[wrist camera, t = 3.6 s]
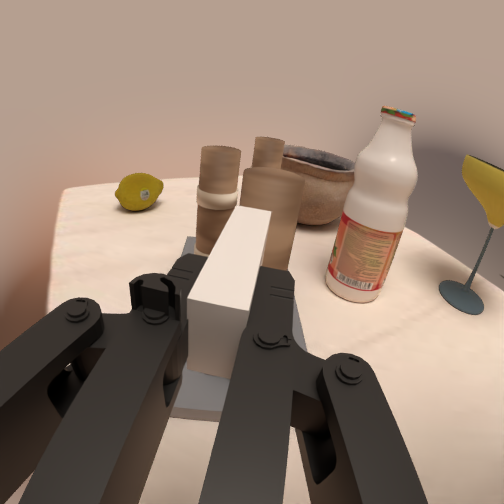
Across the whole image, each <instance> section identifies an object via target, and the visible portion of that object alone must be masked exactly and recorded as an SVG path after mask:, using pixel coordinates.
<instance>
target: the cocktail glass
mask: <svg viewBox="0 0 504 504" xmlns="http://www.w3.org/2000/svg"><path fill="white" fill-rule="evenodd" d="M462 175H463V178H464V180H465V182H466V184H467V186H468V187H469V189H470V190H471V191H472V193H473V194H474V195H475V197H476V198H477V199H478V200H479V202H480V203H481V205H482V206H483V208H484V209H485V211H486V214H487V218H488V223H489V225H490V226H491V229H490V232H489V234H488V237H487V240H486V242H485V245H484V247H483V249H482V252H481V254H480V256H479V259H478V261H477V263H476V265H475V267H474V269H473V271H472V273H471V275H470V277H469V279H468V281H467V282H466V284H465V285H463V284H461V283H458V282H455V281H450V280H446V281H443V282H441V283H440V285H439V290H440V293H441V295H442V296H443V298H444V299H445V300H446V301H447V302H448V303H449V304H451V305H452V306H453V307H455V308H456V309H458V310H460V311H462V312H465V313H467V314H472V315H477V314H480V313H482V312H483V310H484V304H483V302H482V300H481V298H480V297H479V296H478V295H477V294H476V293H475V292H474V291H473V290H471V289H470V286H471V283H472V281H473V278H474V276H475V273H476V271H477V269H478V266H479V264H480V262H481V259H482V257H483V255H484V252H485V250H486V248H487V245H488V242H489V240H490V238H491V235H492V232H493V230H494V229H497V228H500V227H501V226H503V225H504V170H503V169H501V168H499V167H497V166H494V165H492V164H490V163H488V162H485V161H483V160H481V159H478V158H476V157H473V156H470V155H466V157H465V159H464V162H463V167H462Z"/></svg>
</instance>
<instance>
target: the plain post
mask: <svg viewBox="0 0 504 504" xmlns="http://www.w3.org/2000/svg"><path fill="white" fill-rule="evenodd" d="M304 185H305V179H304V178H303V177H301V176H300V175H298V174H295V173H293V172H289V171H286V170H282V169H276V168H269V167H252V168H247V169H245V170H244V173H243V181H242V189H241V197H240V206H243V207H249V208H255V209H260V210H266V211H271V218H270V223H269V229H268V235H267V240H266V246H265V251H264V257H263V263H262V266H264V267H269V268H274V269H280V270H285V271H287V269H288V264H289V259H290V254H291V250H292V245H293V240H294V235H295V230H296V225H297V220H298V215H299V210H300V205H301V200H302V195H303V190H304Z"/></svg>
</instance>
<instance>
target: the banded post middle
mask: <svg viewBox="0 0 504 504" xmlns="http://www.w3.org/2000/svg"><path fill="white" fill-rule="evenodd" d="M240 157H241V151H240V150H239V149H236V148H232V147H226V146H205V147H202V151H201V164H200V177H199V185H198V187H197V204H198V209H197V227H196V243H195V245H194V254H196V255H201V256H206V257H209V255H210V253H211V251H212V249H213V248H214V246H215V244H216V242H217V240H218V238H219V236H220V235H221V233H222V231H223V229H224V227H225V225H226V223H227V222H228V220H229V218H230V216H231V214H232V212H233V211H234V209H235V206H236V204H237V195H238V188H237V183H238V174H239V165H240Z"/></svg>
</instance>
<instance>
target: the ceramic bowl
mask: <svg viewBox="0 0 504 504" xmlns="http://www.w3.org/2000/svg"><path fill="white" fill-rule="evenodd" d="M354 166H355V163H354V162H353V161H351V160H349V159H346V158H343V157H340V156H337V155H334V154H331V153H328V152H324V151H320V150H315V149H309V148H305V147H301V146H291V145H284V151H283V157H282V163H281V169H282V170H286V171H289V172H293V173H295V174H298V175H300V176H301V177H303V178H304V179H305V185H304V190H303V195H302V200H301V205H300V210H299V215H298V220H297V222H298V223H302V224H308V225H322V224H327V223H329V222H331V221H333V220H335V219H336V218H338V217H340V216H342V212H343V208H344V204H345V201H346V197H347V195H348V192H349V190H350V189H351V188H352V186H353V184H354V180H355V176H354Z"/></svg>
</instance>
